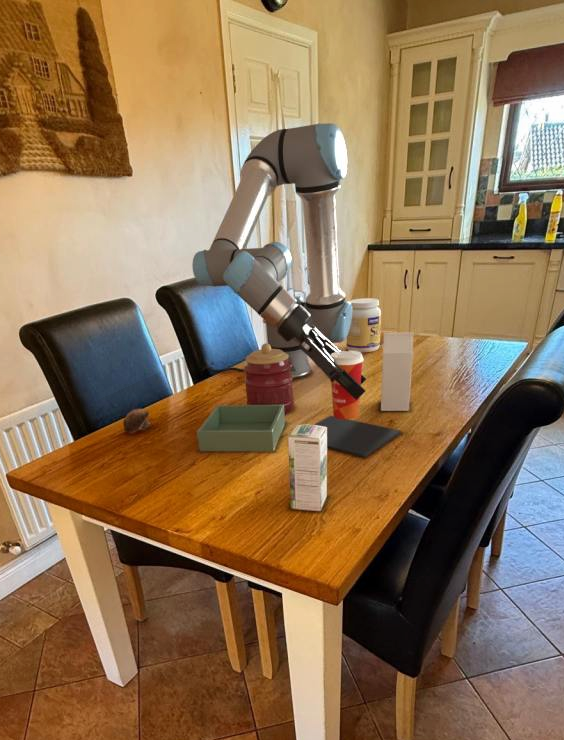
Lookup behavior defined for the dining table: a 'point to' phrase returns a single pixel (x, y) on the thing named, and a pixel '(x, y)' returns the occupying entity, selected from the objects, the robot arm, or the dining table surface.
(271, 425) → the crate
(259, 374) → the kitchen canister
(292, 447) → the syrup box
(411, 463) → the dining table surface
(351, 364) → the paper cup
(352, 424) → the placemat
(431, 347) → the dining table surface
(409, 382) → the milk carton
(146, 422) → the toy hedgehog
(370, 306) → the supplement tub
